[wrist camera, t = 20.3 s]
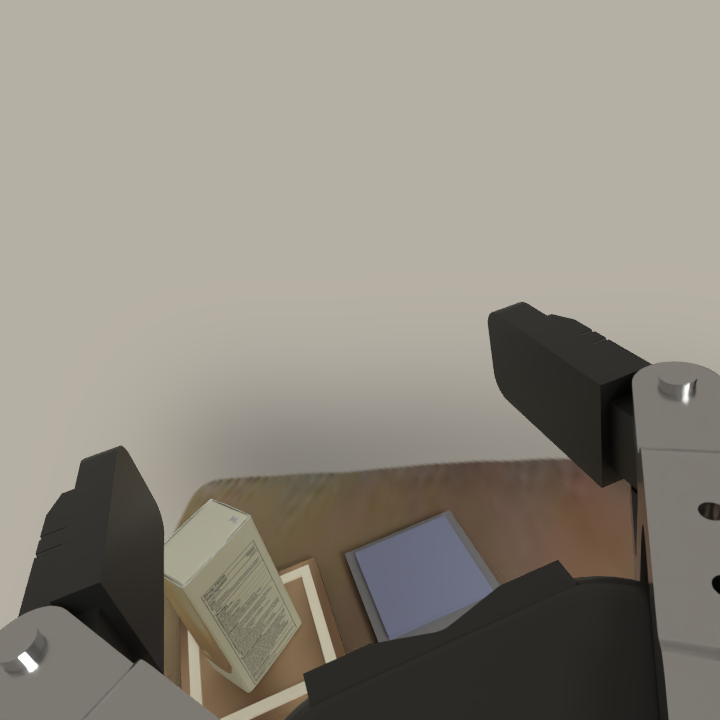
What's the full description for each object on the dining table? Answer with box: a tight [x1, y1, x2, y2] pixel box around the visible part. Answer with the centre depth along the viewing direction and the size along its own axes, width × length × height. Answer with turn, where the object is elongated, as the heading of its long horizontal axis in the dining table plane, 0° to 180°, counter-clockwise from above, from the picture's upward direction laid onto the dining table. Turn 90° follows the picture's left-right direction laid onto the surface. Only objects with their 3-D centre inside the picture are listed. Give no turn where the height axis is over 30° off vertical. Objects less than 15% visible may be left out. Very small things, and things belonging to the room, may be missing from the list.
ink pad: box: [345, 510, 500, 642], centre depth 45 cm, size 10×10×2 cm
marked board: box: [179, 557, 346, 720], centre depth 43 cm, size 12×12×1 cm
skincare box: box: [164, 499, 302, 693], centre depth 40 cm, size 6×4×12 cm
